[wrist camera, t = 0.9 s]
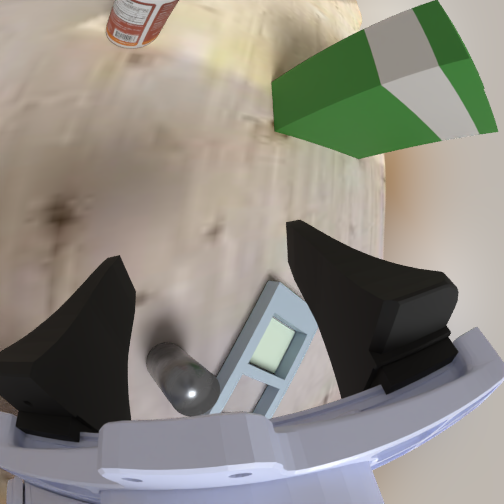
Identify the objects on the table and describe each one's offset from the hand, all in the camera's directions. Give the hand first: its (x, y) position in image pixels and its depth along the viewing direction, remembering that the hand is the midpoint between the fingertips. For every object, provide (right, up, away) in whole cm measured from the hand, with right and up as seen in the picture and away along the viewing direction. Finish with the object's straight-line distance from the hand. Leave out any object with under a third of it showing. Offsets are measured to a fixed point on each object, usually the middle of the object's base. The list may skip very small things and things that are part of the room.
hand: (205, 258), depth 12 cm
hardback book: (+12, +19, +25) cm, 33 cm away
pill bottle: (-11, +24, +9) cm, 28 cm away
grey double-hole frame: (+2, -13, +18) cm, 22 cm away
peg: (-6, -10, +12) cm, 17 cm away
